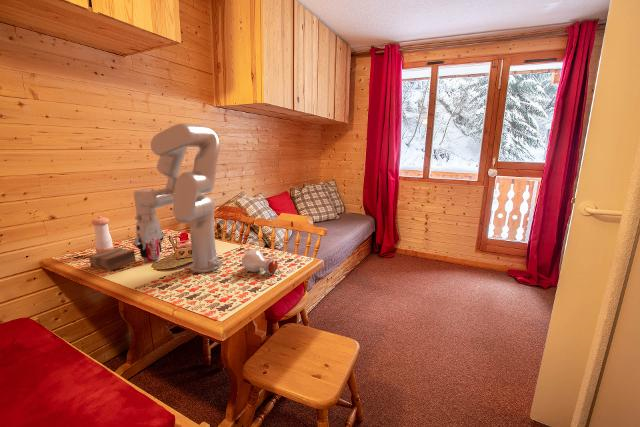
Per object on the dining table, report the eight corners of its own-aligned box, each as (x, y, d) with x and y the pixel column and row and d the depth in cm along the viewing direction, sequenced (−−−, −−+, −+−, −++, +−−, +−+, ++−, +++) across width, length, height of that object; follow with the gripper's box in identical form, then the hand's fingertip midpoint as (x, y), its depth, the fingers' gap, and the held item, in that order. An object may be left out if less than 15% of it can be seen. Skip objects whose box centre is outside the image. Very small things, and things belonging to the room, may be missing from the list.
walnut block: (135, 260, 138) (134, 250, 137) (109, 270, 127) (108, 259, 126) (117, 257, 142) (115, 247, 141) (91, 266, 131) (89, 256, 130)
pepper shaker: (99, 257, 143) (93, 218, 139) (94, 254, 147) (87, 216, 143) (117, 253, 149) (111, 215, 145) (111, 250, 153) (105, 213, 149)
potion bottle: (245, 270, 130) (274, 280, 125) (233, 265, 122) (264, 275, 116) (253, 251, 133) (282, 259, 128) (242, 244, 124) (273, 253, 119)
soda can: (164, 258, 142) (161, 233, 139) (154, 263, 135) (151, 238, 132) (150, 257, 142) (147, 233, 140) (140, 263, 136) (136, 237, 133)
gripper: (135, 222, 125) (140, 262, 129) (168, 213, 141) (172, 249, 145) (122, 220, 128) (128, 259, 131) (156, 212, 143) (161, 247, 147)
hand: (151, 254), depth 138 cm, fingers closed on soda can, 6 cm apart
